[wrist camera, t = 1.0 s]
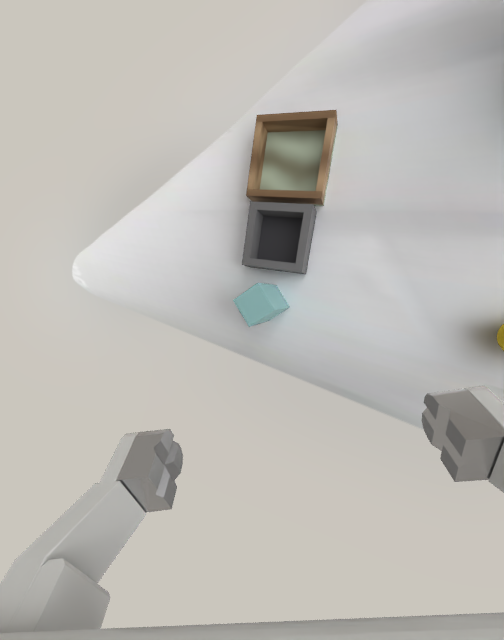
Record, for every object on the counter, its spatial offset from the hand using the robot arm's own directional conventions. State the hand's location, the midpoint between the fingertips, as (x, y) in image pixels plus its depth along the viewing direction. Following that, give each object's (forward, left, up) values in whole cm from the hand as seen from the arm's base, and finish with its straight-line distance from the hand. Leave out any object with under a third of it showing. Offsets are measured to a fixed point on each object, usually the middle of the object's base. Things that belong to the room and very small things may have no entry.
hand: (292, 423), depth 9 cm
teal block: (+5, -10, -38) cm, 40 cm away
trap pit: (-4, -16, -38) cm, 41 cm away
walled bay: (-14, -22, -38) cm, 46 cm away
